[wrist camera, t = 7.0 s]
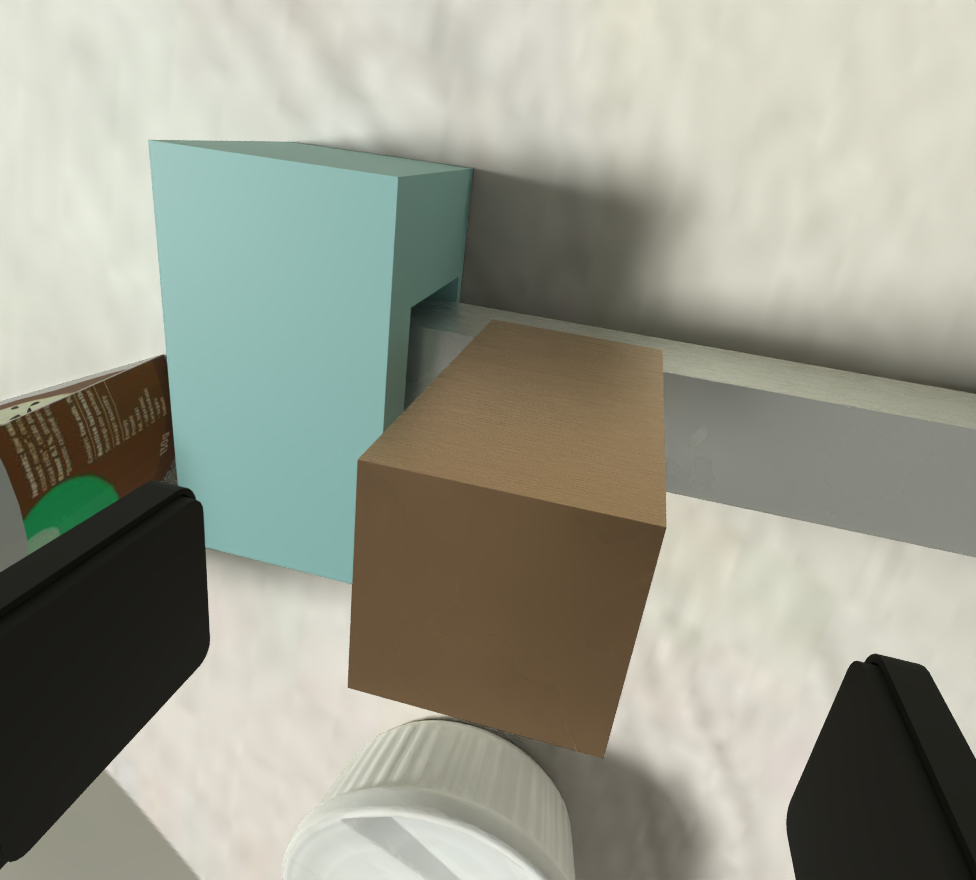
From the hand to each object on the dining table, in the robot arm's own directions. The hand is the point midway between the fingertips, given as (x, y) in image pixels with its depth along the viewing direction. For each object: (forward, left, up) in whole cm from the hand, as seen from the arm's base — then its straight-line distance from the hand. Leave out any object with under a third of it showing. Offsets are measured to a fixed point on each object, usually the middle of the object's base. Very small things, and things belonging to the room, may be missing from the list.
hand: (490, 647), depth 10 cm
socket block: (-4, +5, -12) cm, 14 cm away
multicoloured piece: (+3, -2, -11) cm, 11 cm away
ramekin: (-15, -12, -12) cm, 23 cm away
